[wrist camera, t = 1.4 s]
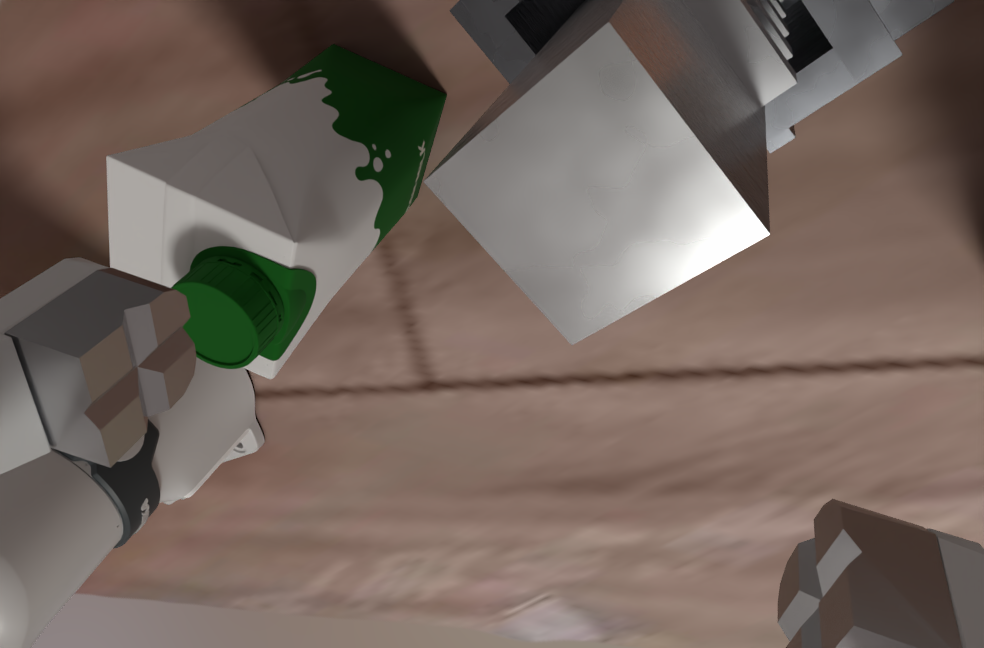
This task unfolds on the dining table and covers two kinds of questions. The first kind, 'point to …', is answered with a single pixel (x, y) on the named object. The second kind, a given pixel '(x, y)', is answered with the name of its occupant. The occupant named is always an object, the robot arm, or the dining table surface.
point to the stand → (812, 36)
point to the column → (624, 154)
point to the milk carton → (274, 203)
